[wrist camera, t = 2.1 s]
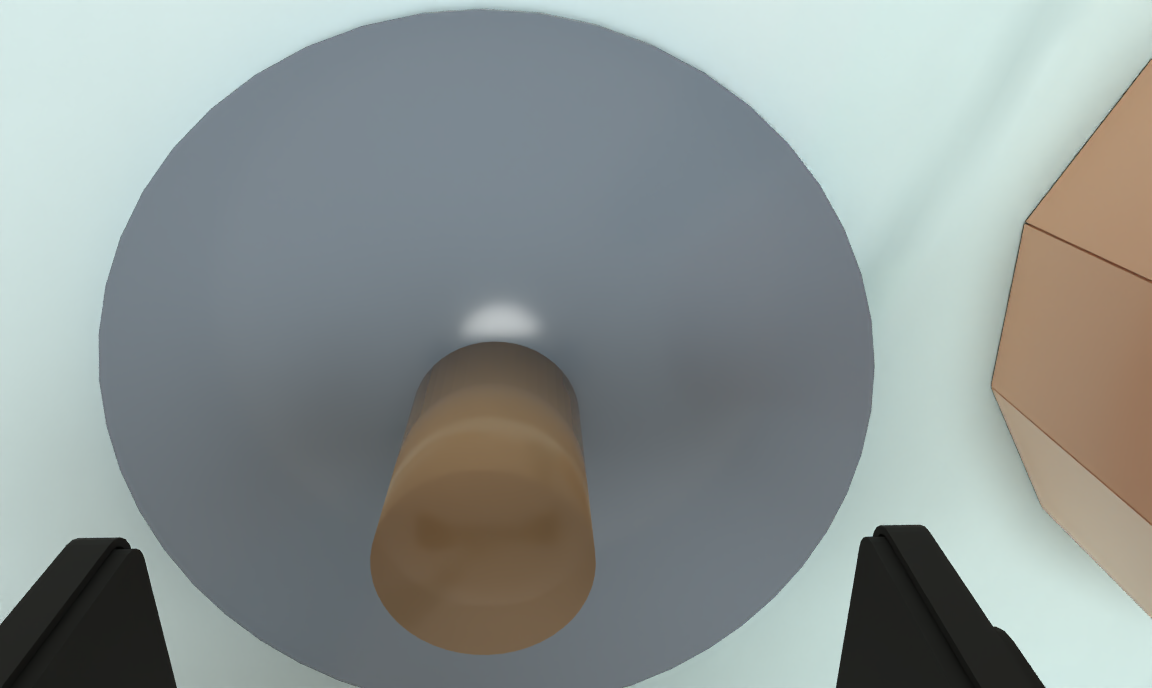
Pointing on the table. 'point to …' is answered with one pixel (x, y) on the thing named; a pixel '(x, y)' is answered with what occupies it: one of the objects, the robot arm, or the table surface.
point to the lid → (486, 356)
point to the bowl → (1090, 347)
